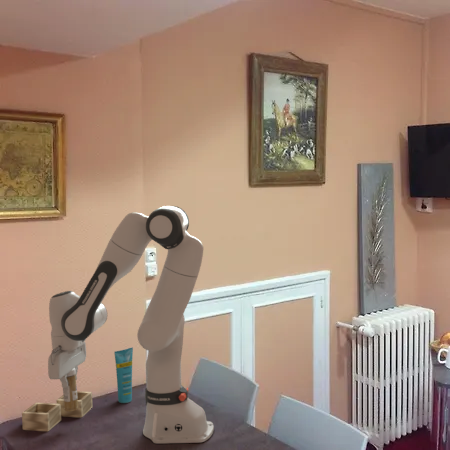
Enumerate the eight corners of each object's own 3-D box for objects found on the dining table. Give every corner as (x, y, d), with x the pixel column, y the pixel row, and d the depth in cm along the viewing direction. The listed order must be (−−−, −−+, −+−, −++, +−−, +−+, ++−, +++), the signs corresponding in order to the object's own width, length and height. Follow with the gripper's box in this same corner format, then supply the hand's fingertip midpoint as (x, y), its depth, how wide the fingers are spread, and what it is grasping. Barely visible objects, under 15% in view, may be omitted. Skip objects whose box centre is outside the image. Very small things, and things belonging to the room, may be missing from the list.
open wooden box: (92, 407, 209) (91, 392, 209) (81, 417, 200) (81, 401, 200) (68, 406, 211) (68, 390, 210) (57, 416, 202) (56, 400, 202)
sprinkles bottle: (80, 409, 191) (77, 368, 190) (66, 413, 188) (63, 371, 187) (75, 405, 195) (72, 365, 194) (62, 409, 192) (59, 368, 191)
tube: (120, 405, 210) (118, 352, 209) (112, 402, 214) (110, 350, 212) (137, 399, 216) (135, 348, 214) (129, 396, 219) (128, 345, 218)
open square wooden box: (61, 420, 198) (60, 403, 198) (48, 431, 190) (47, 414, 189) (36, 418, 200) (35, 402, 200) (22, 429, 191) (21, 412, 191)
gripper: (60, 351, 179) (63, 395, 180) (88, 333, 199) (91, 373, 200) (40, 351, 180) (44, 395, 181) (70, 333, 200) (74, 373, 201)
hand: (69, 383), depth 191 cm, fingers closed on sprinkles bottle, 4 cm apart
